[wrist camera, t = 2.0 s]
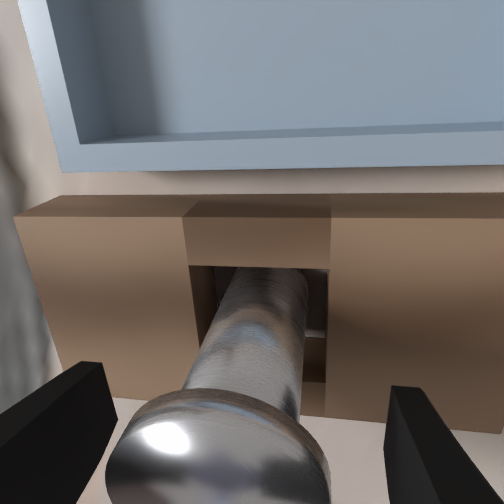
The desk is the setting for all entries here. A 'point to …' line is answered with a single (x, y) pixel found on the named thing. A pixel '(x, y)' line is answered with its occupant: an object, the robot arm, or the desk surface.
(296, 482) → the steel pin
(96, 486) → the desk surface
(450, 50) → the tray
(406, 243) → the brown flat block
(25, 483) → the robot arm
